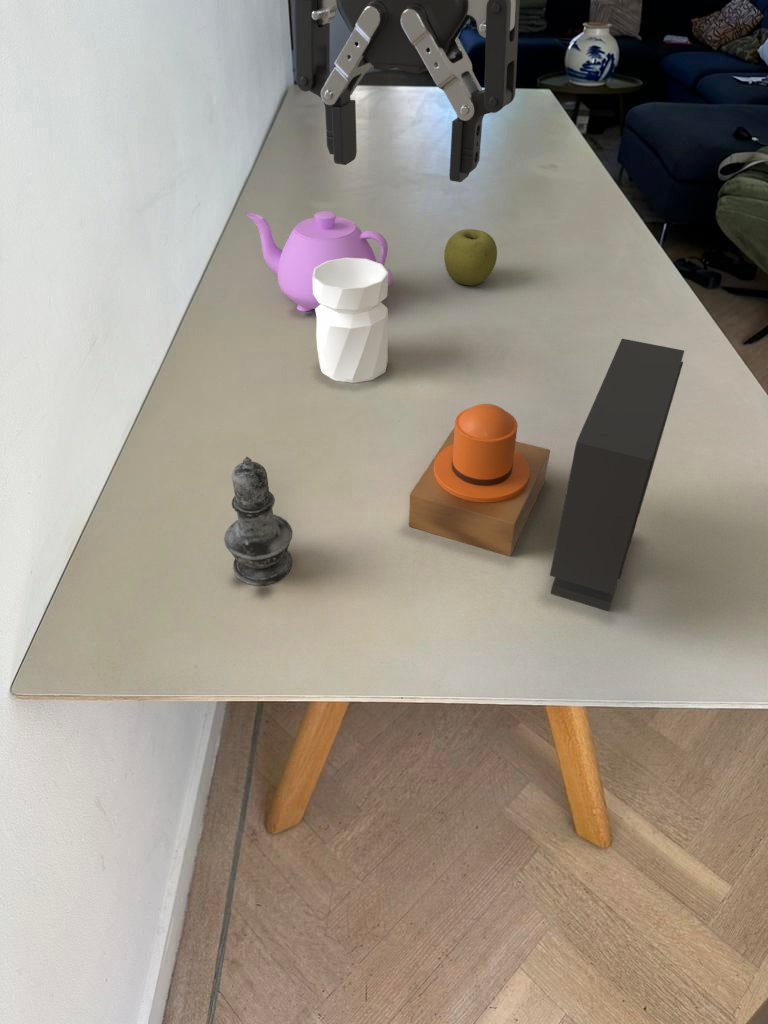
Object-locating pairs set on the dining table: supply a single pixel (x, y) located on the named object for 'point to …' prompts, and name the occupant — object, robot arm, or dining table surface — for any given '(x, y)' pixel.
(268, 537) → the chess piece
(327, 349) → the vase
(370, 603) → the dining table surface
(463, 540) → the stand
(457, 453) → the hat
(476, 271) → the apple
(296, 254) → the teapot
